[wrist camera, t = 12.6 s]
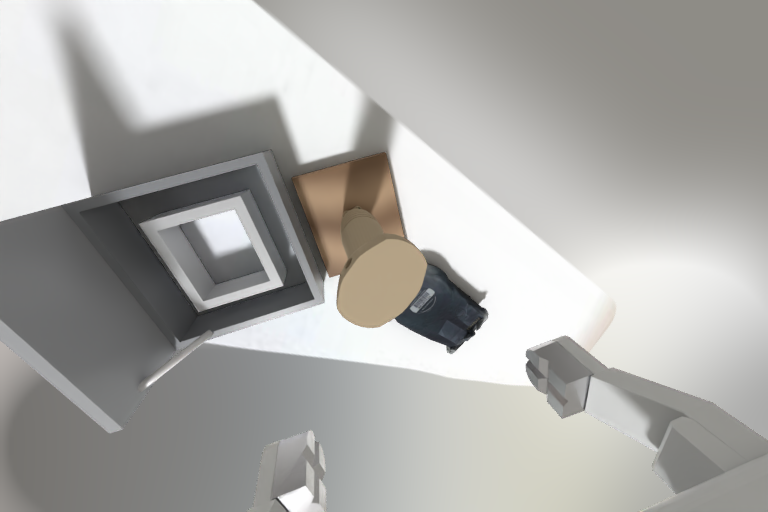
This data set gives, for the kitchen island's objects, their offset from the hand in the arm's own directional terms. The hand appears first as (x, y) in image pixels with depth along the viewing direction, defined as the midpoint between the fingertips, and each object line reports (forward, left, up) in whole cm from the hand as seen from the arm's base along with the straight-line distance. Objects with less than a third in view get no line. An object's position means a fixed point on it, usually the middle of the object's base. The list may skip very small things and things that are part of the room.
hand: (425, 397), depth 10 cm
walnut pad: (0, 0, -24) cm, 24 cm away
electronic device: (+15, +7, -25) cm, 30 cm away
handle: (0, 0, -23) cm, 23 cm away
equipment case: (-1, -14, -24) cm, 28 cm away
